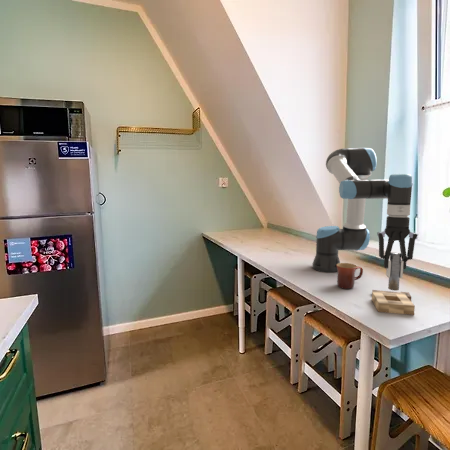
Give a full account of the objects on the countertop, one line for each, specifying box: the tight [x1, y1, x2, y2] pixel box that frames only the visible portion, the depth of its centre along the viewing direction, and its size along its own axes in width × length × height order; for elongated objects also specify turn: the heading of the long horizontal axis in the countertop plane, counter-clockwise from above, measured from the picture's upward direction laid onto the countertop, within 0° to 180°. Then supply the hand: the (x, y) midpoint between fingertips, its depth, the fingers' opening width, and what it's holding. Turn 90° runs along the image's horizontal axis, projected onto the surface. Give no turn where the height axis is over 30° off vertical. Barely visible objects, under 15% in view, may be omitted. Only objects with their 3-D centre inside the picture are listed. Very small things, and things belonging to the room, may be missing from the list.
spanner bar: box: [371, 289, 412, 302], centre depth 130 cm, size 14×5×2 cm, turn 71°
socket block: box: [371, 292, 416, 316], centre depth 120 cm, size 12×12×4 cm
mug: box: [336, 262, 364, 290], centre depth 142 cm, size 12×9×10 cm
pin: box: [387, 251, 402, 292], centre depth 118 cm, size 4×4×14 cm
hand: (394, 276), depth 118 cm, fingers closed on pin, 3 cm apart
